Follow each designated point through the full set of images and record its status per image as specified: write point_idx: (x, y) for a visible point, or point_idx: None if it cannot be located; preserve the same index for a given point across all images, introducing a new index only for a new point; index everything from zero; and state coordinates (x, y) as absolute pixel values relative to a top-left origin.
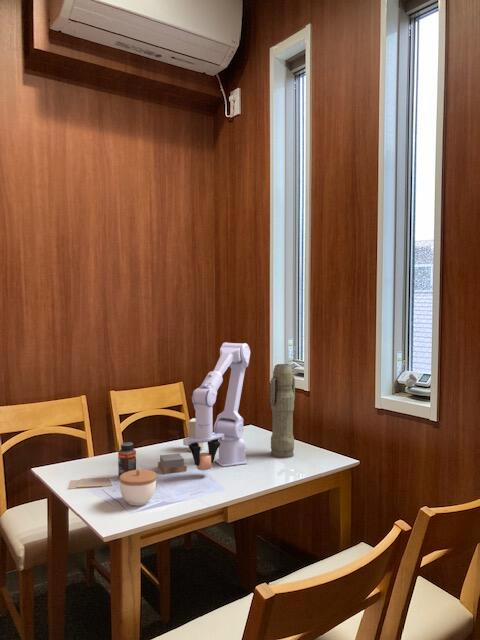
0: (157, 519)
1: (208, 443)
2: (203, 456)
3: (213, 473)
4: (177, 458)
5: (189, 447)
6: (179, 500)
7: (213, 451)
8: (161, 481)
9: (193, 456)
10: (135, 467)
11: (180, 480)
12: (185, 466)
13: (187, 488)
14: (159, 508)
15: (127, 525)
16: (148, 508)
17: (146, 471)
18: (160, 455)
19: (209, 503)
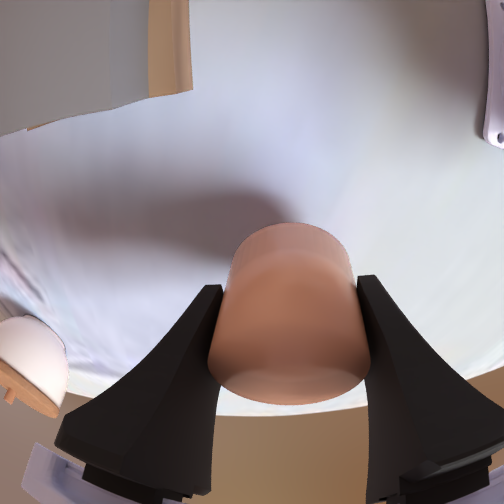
0: None
1: (406, 445)
2: (260, 397)
3: (372, 217)
4: (61, 81)
5: (92, 412)
6: None
7: (370, 421)
8: (52, 224)
9: (170, 341)
10: None
11: (132, 246)
12: (167, 94)
13: (163, 334)
14: (99, 379)
15: (68, 387)
16: (77, 368)
17: (16, 388)
18: None
19: (218, 411)
